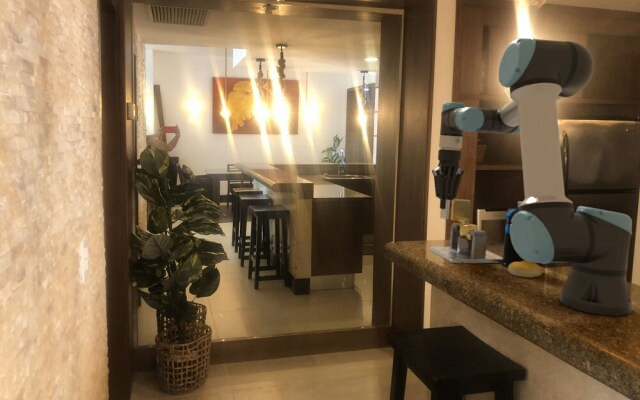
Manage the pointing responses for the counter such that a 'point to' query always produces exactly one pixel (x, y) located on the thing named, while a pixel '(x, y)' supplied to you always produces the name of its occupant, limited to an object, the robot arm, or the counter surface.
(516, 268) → the bread roll
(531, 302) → the counter surface
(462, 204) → the gold branched bar piece
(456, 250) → the socket base
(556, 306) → the counter surface
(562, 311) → the counter surface
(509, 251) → the aerosol can
